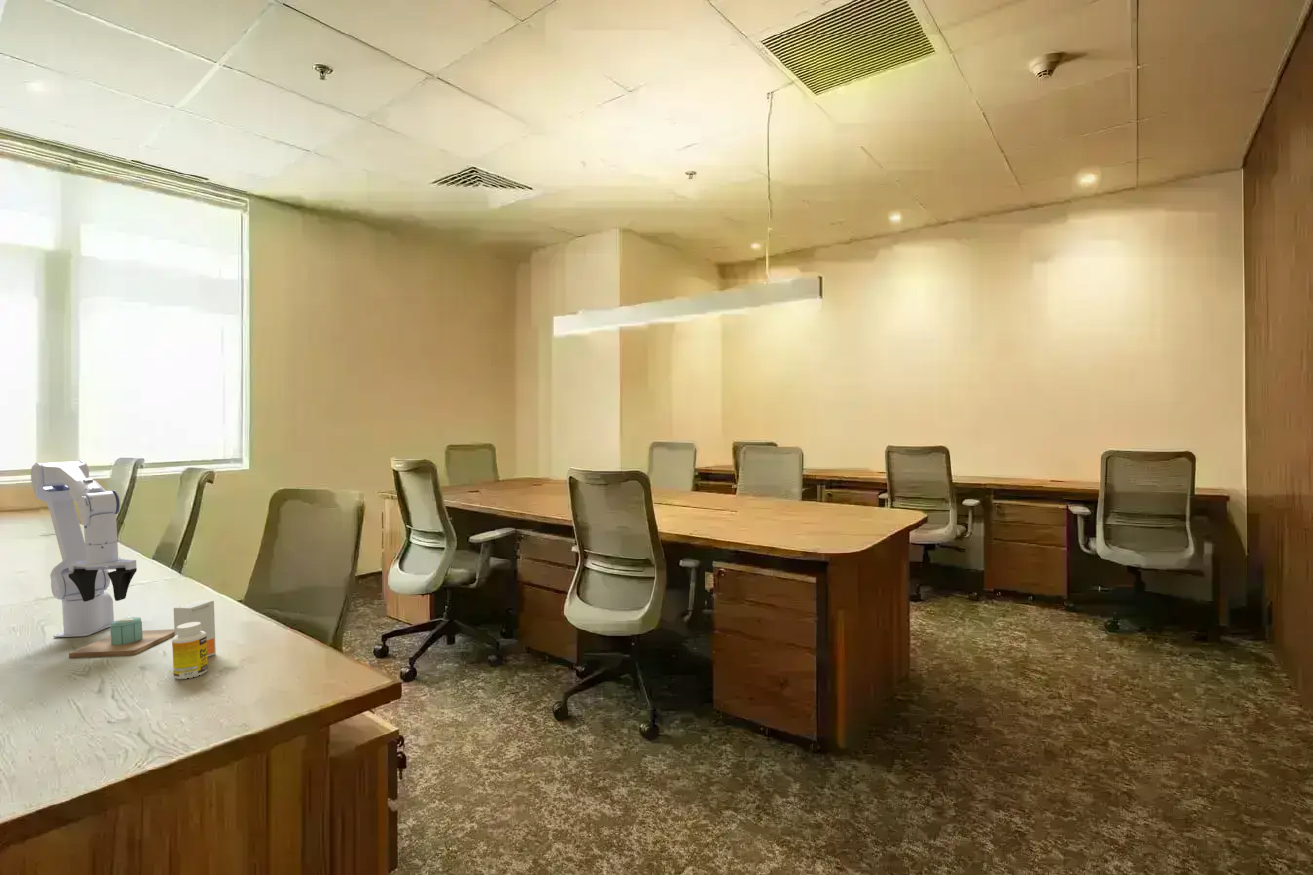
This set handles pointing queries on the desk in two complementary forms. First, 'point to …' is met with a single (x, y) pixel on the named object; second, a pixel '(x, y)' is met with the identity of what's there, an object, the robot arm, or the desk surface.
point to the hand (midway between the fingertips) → (104, 599)
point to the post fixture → (123, 645)
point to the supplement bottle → (189, 651)
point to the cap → (126, 631)
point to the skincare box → (198, 620)
